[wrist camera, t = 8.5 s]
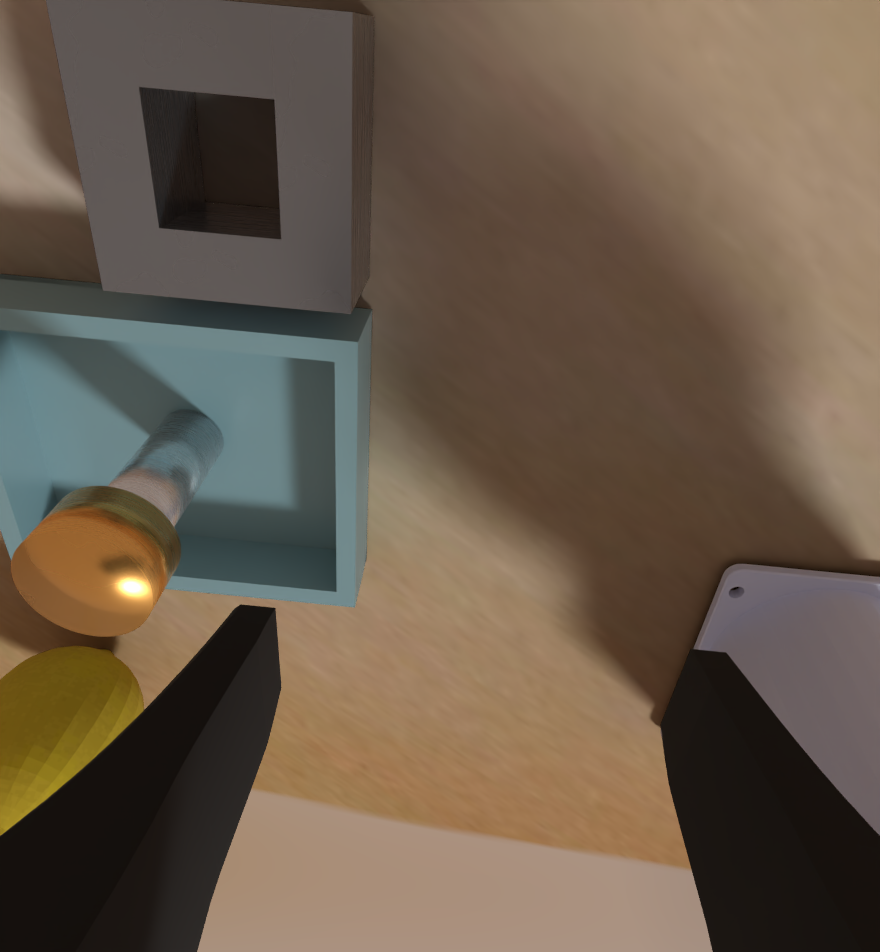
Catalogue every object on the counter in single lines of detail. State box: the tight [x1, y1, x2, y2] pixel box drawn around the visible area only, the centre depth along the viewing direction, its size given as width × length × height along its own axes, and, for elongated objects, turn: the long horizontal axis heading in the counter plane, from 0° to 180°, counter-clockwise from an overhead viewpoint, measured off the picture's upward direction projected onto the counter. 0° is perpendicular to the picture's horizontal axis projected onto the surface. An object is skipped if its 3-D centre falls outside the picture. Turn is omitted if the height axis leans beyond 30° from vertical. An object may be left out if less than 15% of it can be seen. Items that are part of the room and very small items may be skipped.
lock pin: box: [11, 409, 224, 637], centre depth 19 cm, size 3×3×7 cm
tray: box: [0, 274, 372, 607], centre depth 21 cm, size 9×11×2 cm
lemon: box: [0, 646, 144, 835], centre depth 24 cm, size 6×6×8 cm
